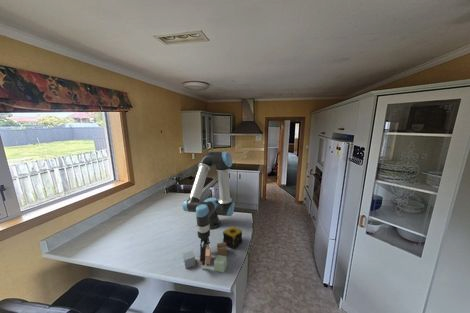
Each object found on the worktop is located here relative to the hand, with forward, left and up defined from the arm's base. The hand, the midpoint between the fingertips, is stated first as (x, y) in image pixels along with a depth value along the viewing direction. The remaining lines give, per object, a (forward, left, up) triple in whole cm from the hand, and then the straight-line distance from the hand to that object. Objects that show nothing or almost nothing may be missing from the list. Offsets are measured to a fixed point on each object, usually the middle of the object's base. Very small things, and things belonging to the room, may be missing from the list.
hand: (205, 260), depth 114 cm
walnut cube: (-6, +10, 0) cm, 12 cm away
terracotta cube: (0, 0, 0) cm, 0 cm away
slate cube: (+2, -10, 0) cm, 10 cm away
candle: (-16, +17, 0) cm, 23 cm away
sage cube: (+6, +10, 0) cm, 12 cm away
